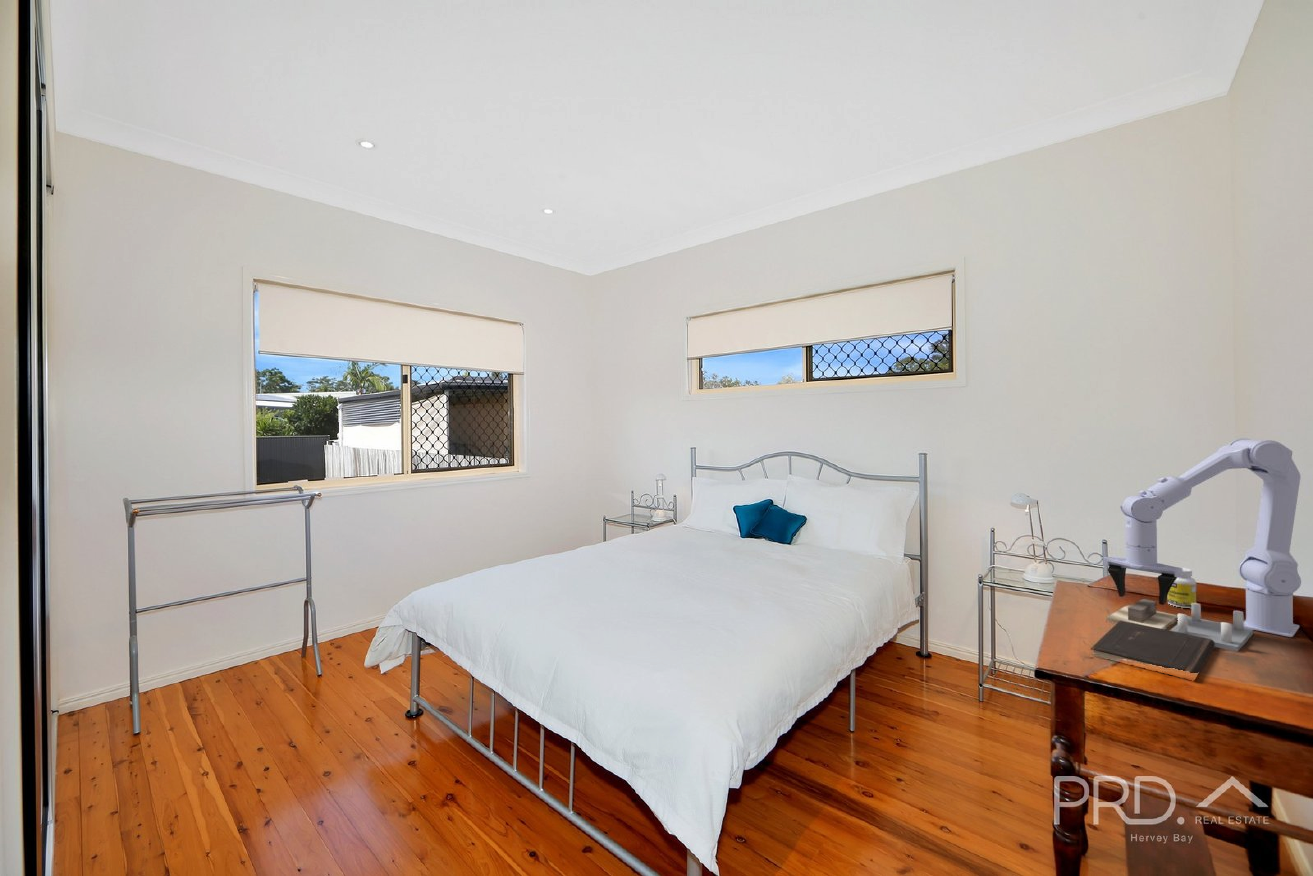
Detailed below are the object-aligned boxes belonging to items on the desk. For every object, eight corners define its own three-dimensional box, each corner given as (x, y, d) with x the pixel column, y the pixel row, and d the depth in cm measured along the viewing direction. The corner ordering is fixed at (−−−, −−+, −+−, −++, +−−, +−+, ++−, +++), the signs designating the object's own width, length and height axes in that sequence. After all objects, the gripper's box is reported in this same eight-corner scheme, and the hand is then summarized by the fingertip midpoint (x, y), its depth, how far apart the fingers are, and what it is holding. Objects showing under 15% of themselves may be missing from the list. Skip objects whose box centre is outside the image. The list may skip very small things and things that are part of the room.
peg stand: (1187, 620, 133) (1187, 600, 133) (1253, 633, 124) (1253, 612, 124) (1168, 636, 125) (1167, 614, 125) (1237, 651, 116) (1237, 628, 115)
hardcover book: (1090, 658, 117) (1090, 647, 117) (1120, 629, 131) (1120, 620, 131) (1194, 685, 104) (1194, 673, 104) (1214, 650, 118) (1214, 639, 118)
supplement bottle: (1163, 604, 144) (1162, 568, 143) (1173, 601, 146) (1173, 565, 146) (1190, 611, 139) (1189, 573, 138) (1200, 607, 141) (1200, 569, 141)
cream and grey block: (1127, 610, 142) (1127, 593, 142) (1179, 621, 134) (1178, 603, 134) (1106, 623, 135) (1105, 605, 135) (1159, 636, 126) (1159, 617, 126)
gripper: (1098, 542, 137) (1099, 595, 138) (1176, 553, 125) (1176, 611, 126) (1109, 538, 141) (1109, 590, 142) (1185, 548, 129) (1185, 604, 130)
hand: (1141, 599), depth 134 cm, fingers open, 7 cm apart
